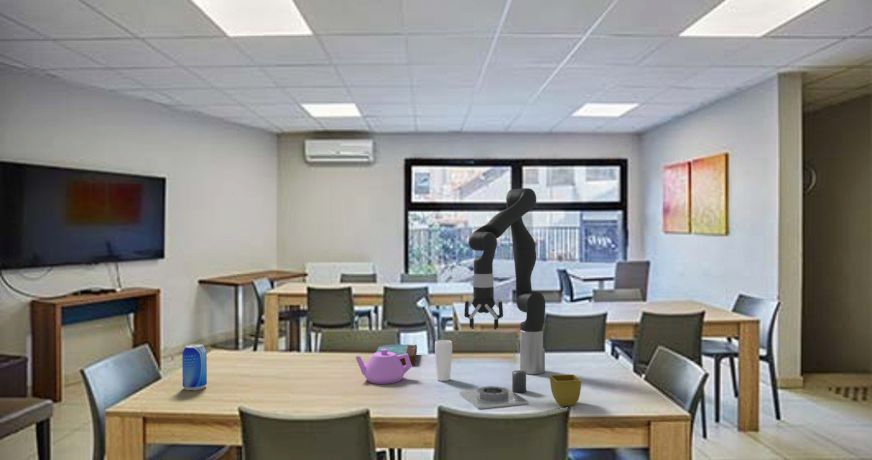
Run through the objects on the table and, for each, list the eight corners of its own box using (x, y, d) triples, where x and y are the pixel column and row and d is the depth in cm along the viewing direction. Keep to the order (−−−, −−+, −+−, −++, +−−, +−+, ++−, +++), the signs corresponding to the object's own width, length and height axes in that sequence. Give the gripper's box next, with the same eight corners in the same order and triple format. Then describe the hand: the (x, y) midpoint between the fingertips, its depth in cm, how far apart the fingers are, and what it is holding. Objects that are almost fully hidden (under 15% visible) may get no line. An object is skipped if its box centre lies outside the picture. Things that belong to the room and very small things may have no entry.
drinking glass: (450, 382, 233) (450, 343, 233) (433, 381, 234) (433, 342, 234) (453, 378, 240) (453, 340, 239) (436, 377, 241) (436, 339, 241)
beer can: (211, 386, 230) (211, 344, 229) (196, 392, 222) (195, 348, 222) (193, 384, 232) (193, 342, 232) (177, 390, 224) (177, 347, 224)
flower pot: (549, 400, 209) (549, 374, 209) (573, 399, 210) (573, 373, 210) (556, 408, 200) (556, 381, 200) (582, 407, 201) (582, 380, 201)
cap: (522, 388, 224) (522, 369, 224) (528, 392, 219) (528, 373, 219) (510, 390, 222) (510, 371, 222) (515, 393, 217) (515, 374, 217)
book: (414, 366, 261) (414, 355, 261) (374, 366, 261) (373, 355, 261) (416, 355, 284) (416, 344, 284) (379, 355, 284) (379, 344, 284)
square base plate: (505, 389, 222) (505, 381, 222) (527, 403, 205) (527, 395, 205) (459, 394, 217) (459, 386, 217) (478, 409, 200) (478, 400, 200)
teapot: (410, 373, 247) (410, 344, 247) (413, 384, 231) (413, 352, 231) (356, 375, 244) (355, 346, 244) (355, 386, 229) (355, 354, 229)
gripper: (503, 284, 228) (504, 327, 228) (466, 284, 231) (466, 326, 231) (501, 286, 220) (502, 331, 221) (462, 286, 223) (463, 330, 224)
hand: (483, 328), depth 226 cm, fingers open, 8 cm apart
